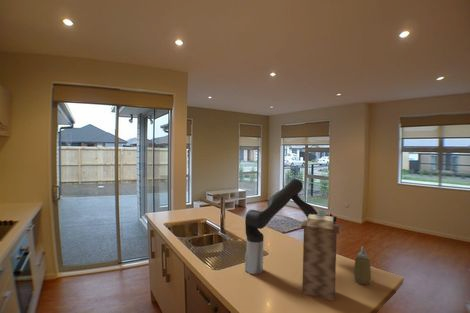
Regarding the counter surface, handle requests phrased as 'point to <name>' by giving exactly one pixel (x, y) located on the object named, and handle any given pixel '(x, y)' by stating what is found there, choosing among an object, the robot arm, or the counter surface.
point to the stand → (319, 261)
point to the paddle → (320, 220)
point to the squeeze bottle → (362, 268)
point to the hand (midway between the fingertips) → (321, 214)
